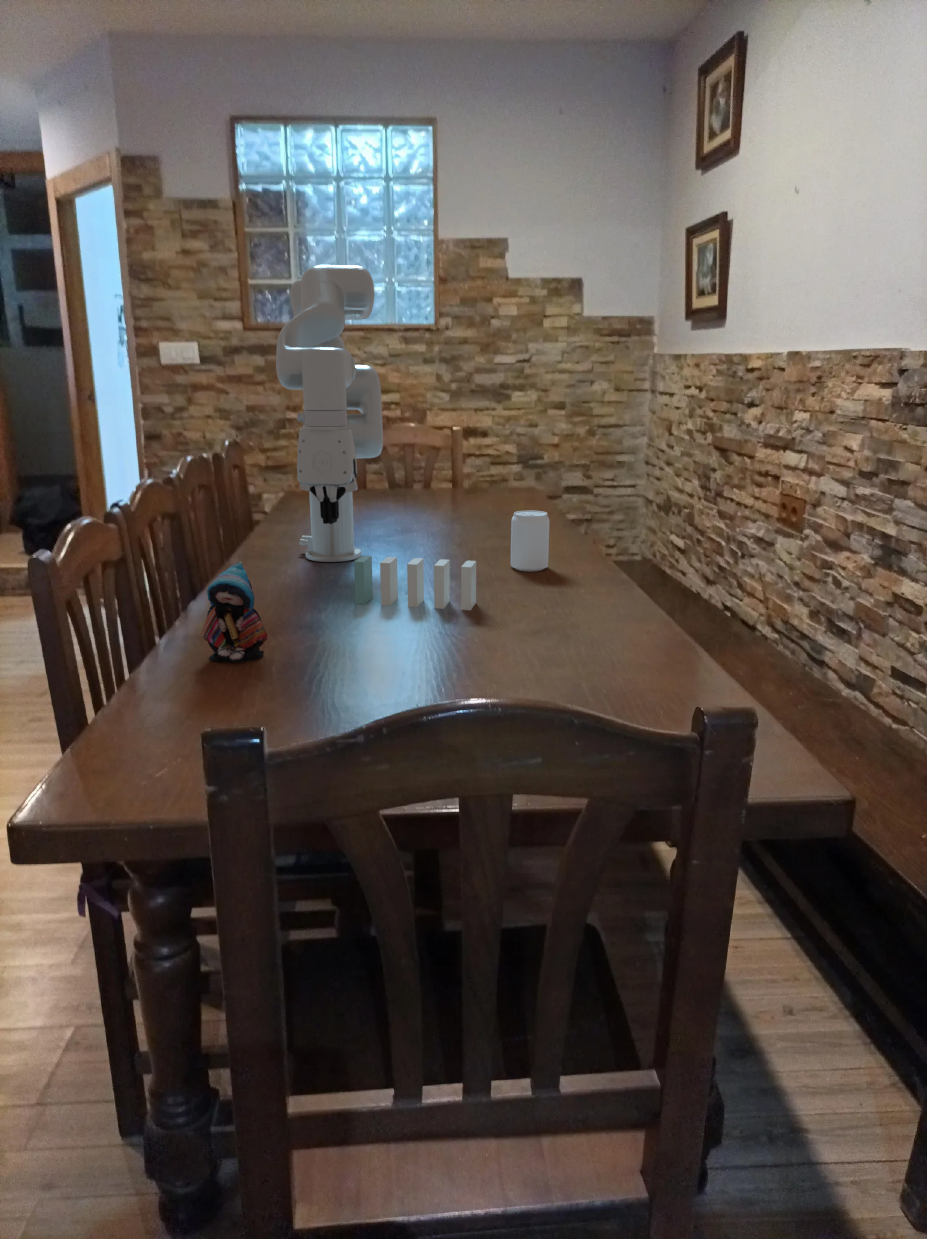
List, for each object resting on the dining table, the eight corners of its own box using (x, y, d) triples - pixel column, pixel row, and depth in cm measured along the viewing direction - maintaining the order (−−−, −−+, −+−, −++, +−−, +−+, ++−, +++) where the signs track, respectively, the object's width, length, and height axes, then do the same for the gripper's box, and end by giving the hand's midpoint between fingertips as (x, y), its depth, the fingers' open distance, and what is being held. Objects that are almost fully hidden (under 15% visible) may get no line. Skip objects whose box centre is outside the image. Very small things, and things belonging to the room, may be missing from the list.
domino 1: (355, 603, 160) (354, 561, 158) (363, 596, 165) (362, 555, 162) (364, 604, 160) (363, 561, 157) (372, 597, 164) (371, 556, 162)
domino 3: (407, 606, 158) (407, 564, 156) (414, 599, 163) (414, 558, 160) (417, 607, 158) (416, 564, 155) (423, 600, 162) (423, 558, 160)
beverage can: (545, 573, 183) (547, 517, 179) (507, 571, 184) (508, 515, 181) (549, 564, 190) (551, 510, 187) (513, 563, 192) (514, 509, 188)
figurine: (196, 668, 127) (187, 568, 122) (210, 652, 133) (202, 557, 129) (264, 669, 126) (257, 569, 122) (275, 653, 133) (269, 558, 129)
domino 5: (461, 609, 156) (461, 566, 154) (466, 602, 161) (466, 560, 159) (470, 610, 156) (471, 567, 154) (475, 602, 161) (476, 561, 158)
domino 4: (434, 608, 157) (434, 565, 155) (440, 600, 162) (440, 559, 160) (444, 608, 157) (443, 565, 155) (449, 601, 162) (449, 559, 159)
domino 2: (381, 605, 159) (380, 562, 157) (388, 598, 164) (387, 556, 161) (390, 605, 159) (389, 563, 156) (397, 598, 163) (396, 557, 161)
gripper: (277, 421, 151) (283, 524, 157) (359, 422, 149) (363, 527, 154) (294, 418, 158) (299, 517, 164) (372, 419, 156) (375, 520, 161)
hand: (330, 522), depth 159 cm, fingers closed
